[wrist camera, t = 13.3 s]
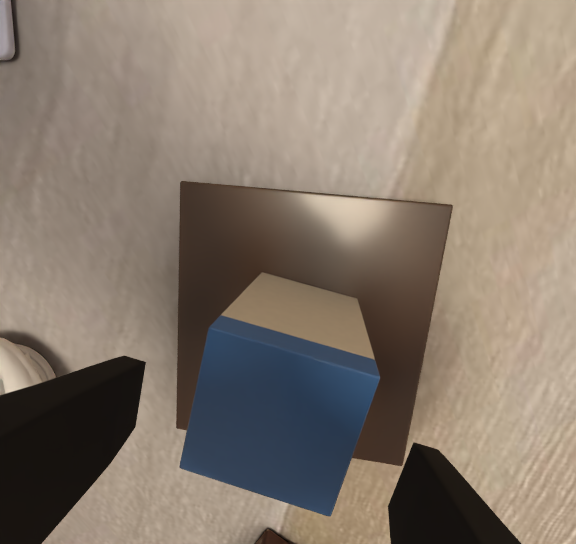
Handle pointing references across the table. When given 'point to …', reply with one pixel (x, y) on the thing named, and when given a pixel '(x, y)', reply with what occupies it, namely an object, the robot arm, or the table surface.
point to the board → (316, 280)
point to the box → (270, 538)
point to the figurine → (21, 367)
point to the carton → (282, 393)
